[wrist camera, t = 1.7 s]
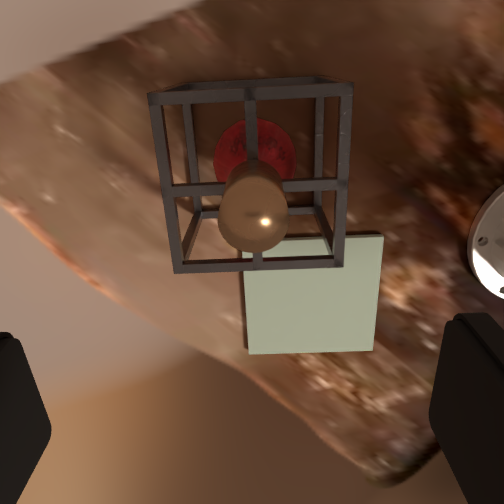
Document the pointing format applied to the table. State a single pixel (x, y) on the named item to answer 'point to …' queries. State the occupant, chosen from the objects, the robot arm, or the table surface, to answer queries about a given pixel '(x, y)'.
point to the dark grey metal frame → (254, 177)
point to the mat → (315, 299)
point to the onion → (269, 149)
